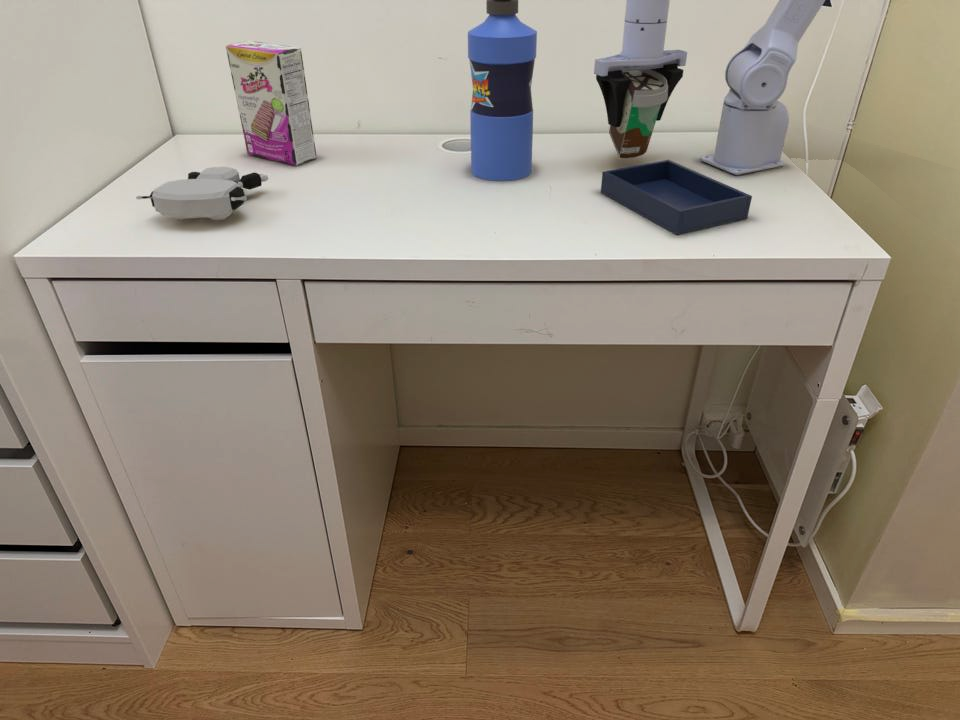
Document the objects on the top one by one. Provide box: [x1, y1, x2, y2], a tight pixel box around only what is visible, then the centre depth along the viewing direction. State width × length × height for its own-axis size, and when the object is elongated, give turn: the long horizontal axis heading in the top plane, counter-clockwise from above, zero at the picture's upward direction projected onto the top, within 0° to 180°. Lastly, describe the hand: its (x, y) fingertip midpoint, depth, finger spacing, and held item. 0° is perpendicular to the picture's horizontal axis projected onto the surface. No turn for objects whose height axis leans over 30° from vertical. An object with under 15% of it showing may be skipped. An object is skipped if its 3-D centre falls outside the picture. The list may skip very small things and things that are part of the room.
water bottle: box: [467, 0, 538, 182], centre depth 96 cm, size 9×9×25 cm
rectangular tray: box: [600, 159, 753, 236], centre depth 90 cm, size 11×16×3 cm
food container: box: [608, 69, 668, 159], centre depth 100 cm, size 12×6×10 cm, turn 1°
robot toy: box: [135, 166, 269, 221], centre depth 90 cm, size 12×4×15 cm
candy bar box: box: [224, 40, 318, 167], centre depth 105 cm, size 11×5×16 cm, turn 58°
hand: (634, 122), depth 102 cm, fingers closed on food container, 7 cm apart
